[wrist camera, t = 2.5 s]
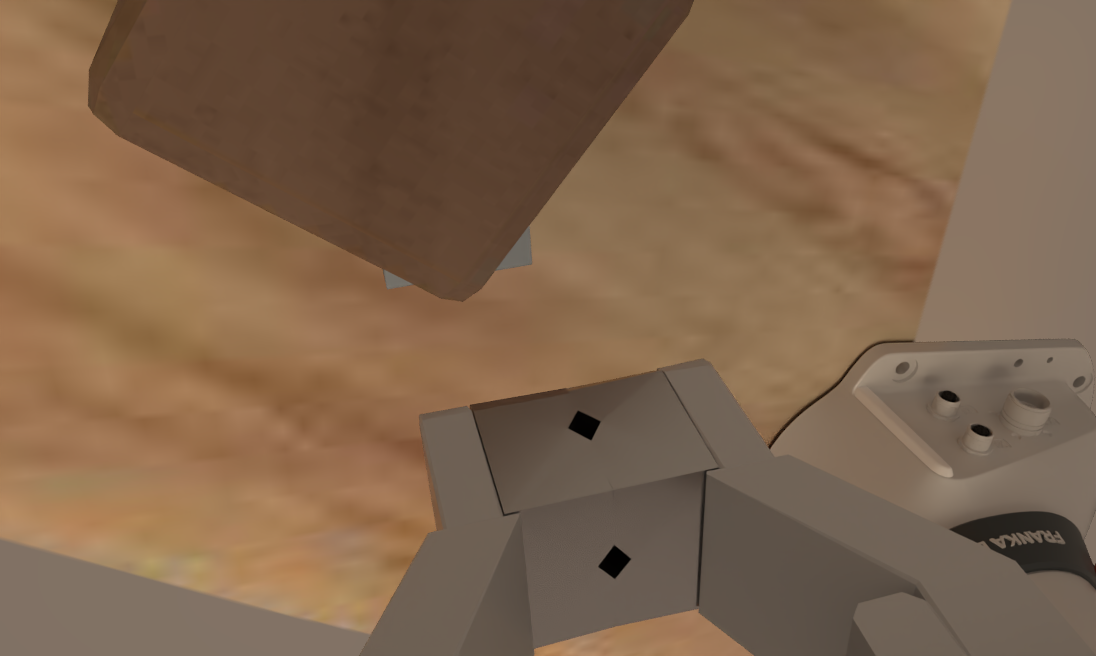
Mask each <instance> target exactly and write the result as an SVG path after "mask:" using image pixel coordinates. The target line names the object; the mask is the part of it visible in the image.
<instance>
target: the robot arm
mask: <svg viewBox="0 0 1096 656" xmlns="http://www.w3.org/2000/svg"><path fill="white" fill-rule="evenodd" d="M1093 391H1094V370H1093V364H1092V360H1091V358H1090V355H1089V353H1088V351H1087V350H1086V348H1085V347H1084V346H1083V345H1082V344H1081V343H1080V342H1079V341H1078V340H1075V339H1038V340H1037V339H1035V340H994V341H953V342H910V343H883V344H879V345H876V346H874V347H872V348H871V349H869V350H868V351H867V352H866V353H865V354H864V355H863V356H862V357H861V358H860V359H859V360H858V361H857V362H856V364H855V365H854V366H853V367H852V368H851V370H850V371H849V372H848V374H847V375H846V376H845V378H844V379H843V380H842V381H841V383H840V384H839V385H838V386H837V387H836V388H834V389H833V390H832V391H831V392H829V393H828V394H827V395H825V396H824V397H823V398H821V399H820V400H819V401H817V402H816V403H814V404H813V405H812V406H810V407H809V408H808V409H807V410H805V411H804V412H803V413H802V414H801V415H799V416H798V417H797V418H796V419H795V420H794V421H793V422H792V423H791V424H790V425H789V426H788V427H787V428H786V429H785V430H784V431H783V433H782V434H781V435H780V436H779V437H778V439H777V440H776V441H775V443H774V444H773V446H772V447H771V449H769V448H768V446H767V445H766V444H765V442H764V441H763V439H762V438H761V436H760V435H759V433H758V432H757V430H756V429H755V427H754V426H753V424H752V423H751V421H750V420H749V418H748V417H747V416H746V414H745V413H744V411H743V410H742V408H741V407H740V405H739V404H738V402H737V401H736V399H735V398H734V396H733V395H732V393H731V392H730V390H729V389H728V387H727V386H726V385H725V383H724V382H723V380H722V379H721V377H720V376H719V374H718V373H717V371H716V370H715V368H714V367H713V365H712V364H711V363H710V362H708V361H706V360H705V359H698V360H694V361H689V362H685V363H680V364H676V365H671V366H667V367H662V368H658V369H657V370H656V371H650V372H645V373H640V374H635V375H630V376H625V377H621V378H616V379H611V380H606V381H601V382H596V383H591V384H586V385H581V386H576V387H571V388H564V389H558V390H553V391H547V392H541V393H536V394H530V395H524V396H518V397H513V398H507V399H501V400H495V401H490V402H484V403H478V404H473V405H470V409H469V408H468V407H467V406H464V407H459V408H453V409H448V410H443V411H437V412H432V413H426V414H421V415H419V426H420V432H421V438H422V444H423V450H424V457H425V463H426V469H427V475H428V481H429V488H430V494H431V500H432V506H433V512H434V517H435V523H436V529H437V531H435V532H431V533H428V534H427V536H426V538H425V540H424V541H423V543H422V545H421V547H420V549H419V550H418V552H417V554H416V556H415V557H414V559H413V561H412V563H411V564H410V566H409V568H408V570H407V572H406V573H405V575H404V577H403V579H402V580H401V582H400V584H399V586H398V588H397V589H396V591H395V593H394V595H393V596H392V598H391V600H390V602H389V604H388V605H387V607H386V609H385V611H384V612H383V614H382V616H381V618H380V620H379V621H378V623H377V625H376V627H375V628H374V630H373V632H372V634H371V636H370V637H369V639H368V641H367V643H366V644H365V646H364V648H363V650H362V652H361V653H360V655H359V656H534V649H535V648H538V647H542V646H546V645H549V644H553V643H557V642H560V641H564V640H568V639H571V638H575V637H579V636H582V635H586V634H590V633H593V632H597V631H601V630H604V629H608V628H612V627H615V626H620V625H625V624H629V623H634V622H639V621H643V620H648V619H653V618H657V617H662V616H667V615H671V614H676V613H681V612H685V611H690V610H695V609H699V613H700V614H701V615H702V616H704V617H705V618H706V619H708V620H709V621H710V622H711V623H713V624H714V625H715V626H717V627H718V628H719V629H721V630H722V631H723V632H724V633H726V634H727V635H728V636H730V637H731V638H732V639H734V640H735V641H736V642H737V643H739V644H740V645H741V646H743V647H744V648H745V649H747V650H748V651H749V652H750V653H752V654H753V655H754V656H1096V564H1095V566H1094V565H1093V563H1092V561H1091V558H1090V556H1089V553H1088V550H1087V548H1086V545H1085V543H1084V539H1085V537H1086V534H1087V532H1088V529H1089V527H1090V524H1091V522H1092V519H1093V517H1094V514H1095V511H1096V416H1095V415H1094V413H1093V412H1092V411H1091V410H1090V408H1091V404H1092V398H1093Z"/></svg>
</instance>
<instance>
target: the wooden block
mask: <svg viewBox="0 0 1096 656" xmlns="http://www.w3.org/2000/svg"><path fill="white" fill-rule="evenodd" d="M693 1H694V0H118V2H117V5H116V7H115V9H114V12H113V14H112V16H111V19H110V21H109V24H108V26H107V28H106V31H105V33H104V35H103V38H102V40H101V43H100V45H99V47H98V50H97V52H96V55H95V57H94V59H93V62H92V64H91V66H90V69H89V92H88V106H89V108H90V109H91V111H92V112H93V114H94V115H95V116H96V117H97V118H99V119H100V120H101V121H102V122H103V123H104V124H105V125H106V126H108V127H109V128H110V129H111V130H112V131H113V132H114V133H115V134H116V135H118V136H119V137H121V138H123V139H125V140H127V141H129V142H131V143H133V144H135V145H137V146H139V147H141V148H143V149H145V150H147V151H149V152H151V153H153V154H155V155H157V156H159V157H161V158H163V159H165V160H167V161H169V162H171V163H173V164H175V165H177V166H179V167H181V168H183V169H185V170H187V171H189V172H191V173H193V174H195V175H197V176H199V177H201V178H203V179H205V180H207V181H209V182H211V183H213V184H215V185H217V186H219V187H221V188H223V189H225V190H227V191H229V192H231V193H233V194H235V195H237V196H239V197H241V198H243V199H245V200H247V201H249V202H251V203H253V204H255V205H257V206H259V207H261V208H262V209H264V210H266V211H268V212H270V213H272V214H274V215H276V216H278V217H280V218H282V219H284V220H286V221H288V222H290V223H292V224H294V225H296V226H298V227H300V228H302V229H304V230H306V231H308V232H310V233H312V234H314V235H316V236H318V237H320V238H322V239H324V240H326V241H328V242H330V243H332V244H334V245H336V246H338V247H340V248H342V249H344V250H346V251H348V252H350V253H352V254H354V255H356V256H358V257H360V258H362V259H364V260H366V261H368V262H370V263H372V264H374V265H376V266H378V267H380V268H382V269H384V270H386V271H388V272H390V273H392V274H394V275H396V276H398V277H400V278H402V279H404V280H406V281H408V282H410V283H412V284H414V285H416V286H418V287H420V288H422V289H424V290H426V291H427V292H429V293H431V294H433V295H435V296H437V297H439V298H441V299H448V300H455V301H462V302H463V301H464V300H466V299H467V298H469V297H470V296H472V295H473V294H475V293H476V292H477V291H479V290H480V289H482V287H483V286H484V285H485V283H486V282H487V281H488V279H489V278H490V277H491V275H492V274H493V273H494V271H495V270H496V269H497V267H498V266H499V265H500V263H501V262H502V261H503V259H504V258H505V257H506V255H507V254H508V253H509V251H510V250H511V249H512V248H513V246H514V245H515V244H516V242H517V241H518V240H519V238H520V237H521V236H522V234H523V233H524V232H525V230H526V229H527V228H528V226H529V225H530V224H531V222H532V221H533V220H534V218H535V217H536V216H537V214H538V213H539V212H540V210H541V209H542V208H543V206H544V205H545V204H546V202H547V201H548V200H549V199H550V197H551V196H552V195H553V193H554V192H555V191H556V189H557V188H558V187H559V185H560V184H561V183H562V181H563V180H564V179H565V177H566V176H567V175H568V173H569V172H570V171H571V169H572V168H573V167H574V165H575V164H576V163H577V161H578V160H579V159H580V157H581V156H582V155H583V153H584V152H585V151H586V150H587V148H588V147H589V146H590V144H591V143H592V142H593V140H594V139H595V138H596V136H597V135H598V134H599V132H600V131H601V130H602V128H603V127H604V126H605V124H606V123H607V122H608V120H609V119H610V118H611V116H612V115H613V114H614V112H615V111H616V110H617V108H618V107H619V106H620V104H621V103H622V102H623V100H624V99H625V98H626V97H627V95H628V94H629V93H630V91H631V90H632V89H633V87H634V86H635V85H636V83H637V82H638V81H639V79H640V78H641V77H642V75H643V74H644V73H645V71H646V70H647V69H648V67H649V66H650V65H651V63H652V62H653V61H654V59H655V58H656V57H657V55H658V54H659V53H660V51H661V50H662V49H663V48H664V46H665V45H666V44H667V42H668V41H669V40H670V38H671V37H672V36H673V34H674V33H675V32H676V30H677V29H678V28H679V26H680V25H681V24H682V22H683V21H684V20H685V18H686V17H687V16H688V14H689V12H690V9H691V7H692V4H693Z"/></svg>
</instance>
